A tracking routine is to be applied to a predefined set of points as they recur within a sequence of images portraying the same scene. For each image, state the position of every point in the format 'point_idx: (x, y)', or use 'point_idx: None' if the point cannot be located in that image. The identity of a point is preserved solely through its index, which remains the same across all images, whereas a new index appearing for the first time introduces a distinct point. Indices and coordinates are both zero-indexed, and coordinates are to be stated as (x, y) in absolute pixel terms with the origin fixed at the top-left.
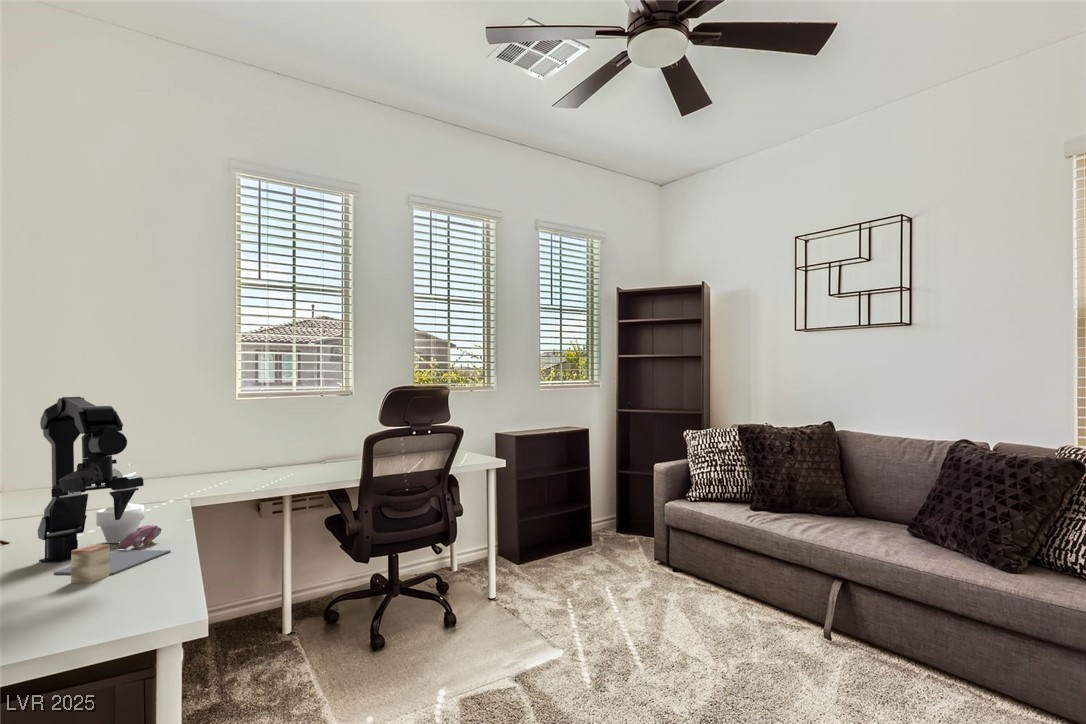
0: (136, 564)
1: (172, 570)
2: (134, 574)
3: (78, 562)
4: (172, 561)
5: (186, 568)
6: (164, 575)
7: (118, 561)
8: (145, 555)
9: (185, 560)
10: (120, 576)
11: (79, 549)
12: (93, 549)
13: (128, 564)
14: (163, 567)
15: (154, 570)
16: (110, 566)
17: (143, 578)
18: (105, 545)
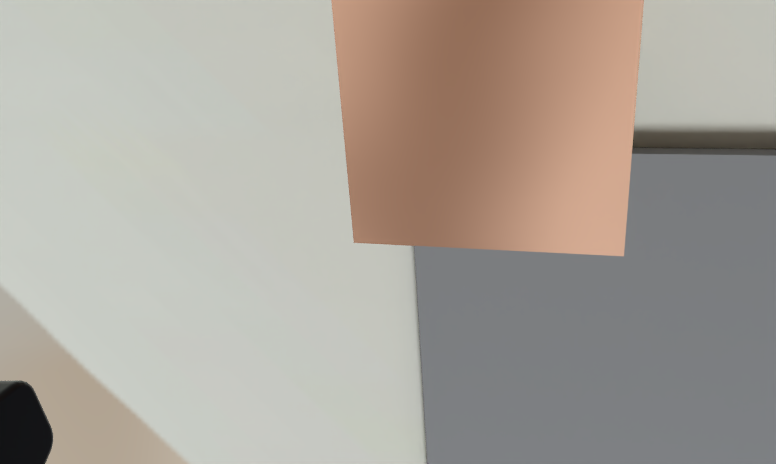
0: (421, 349)
1: (64, 236)
2: (248, 158)
3: None
4: (243, 409)
5: (16, 270)
6: (15, 139)
7: (633, 415)
8: None
9: (175, 419)
10: (315, 112)
11: (564, 20)
12: (348, 30)
13: (469, 338)
14: (185, 297)
15: (186, 239)
16: (589, 302)
17: (94, 74)
18: (366, 204)
